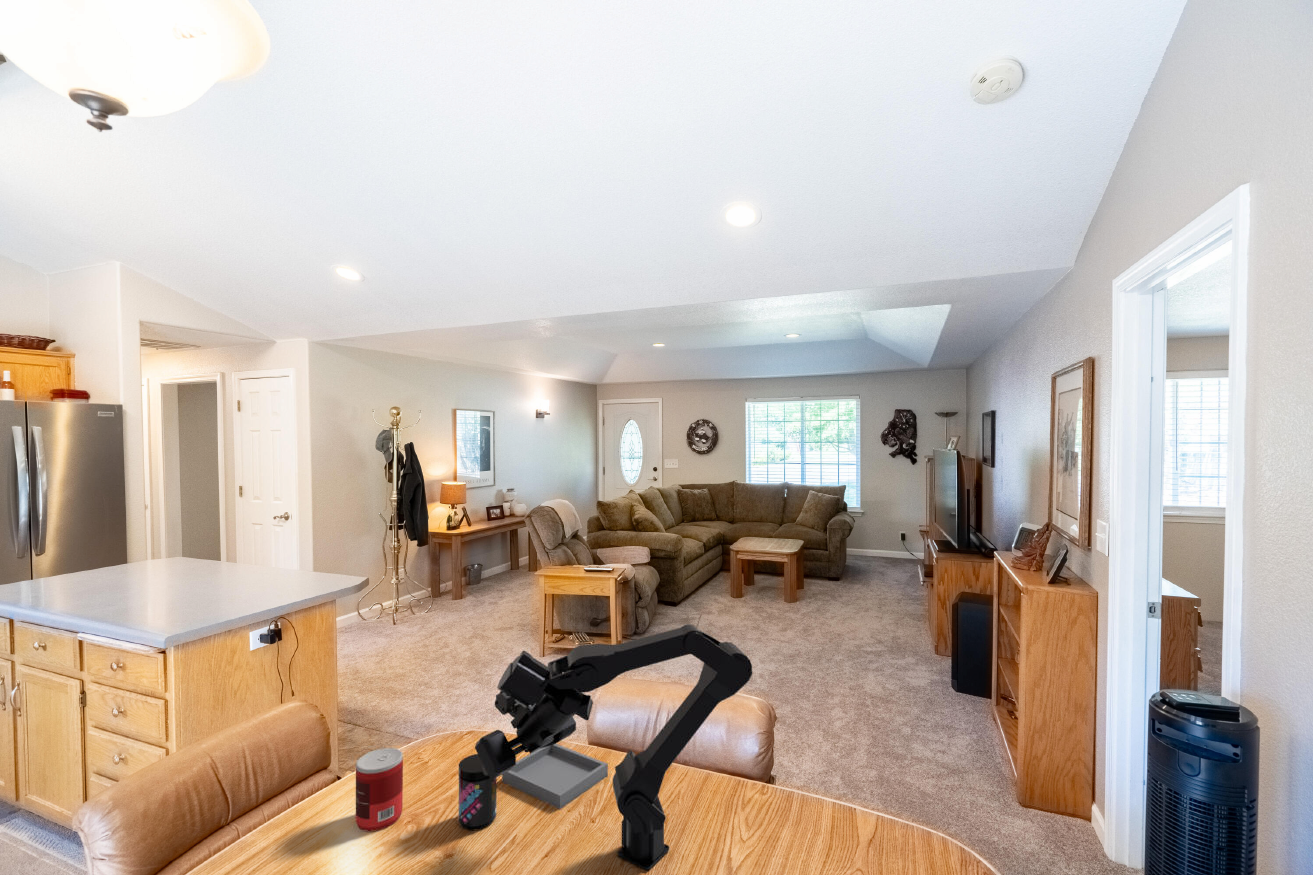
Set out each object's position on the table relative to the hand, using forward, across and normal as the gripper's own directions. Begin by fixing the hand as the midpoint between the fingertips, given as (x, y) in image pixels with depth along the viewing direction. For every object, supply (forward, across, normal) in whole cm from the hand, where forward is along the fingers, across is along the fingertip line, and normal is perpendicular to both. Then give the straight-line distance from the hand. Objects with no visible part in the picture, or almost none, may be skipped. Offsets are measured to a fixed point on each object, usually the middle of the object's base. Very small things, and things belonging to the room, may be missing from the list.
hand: (504, 760), depth 107 cm
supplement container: (+14, 0, +4) cm, 15 cm away
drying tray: (+13, -18, +6) cm, 23 cm away
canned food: (+25, +10, -6) cm, 28 cm away
